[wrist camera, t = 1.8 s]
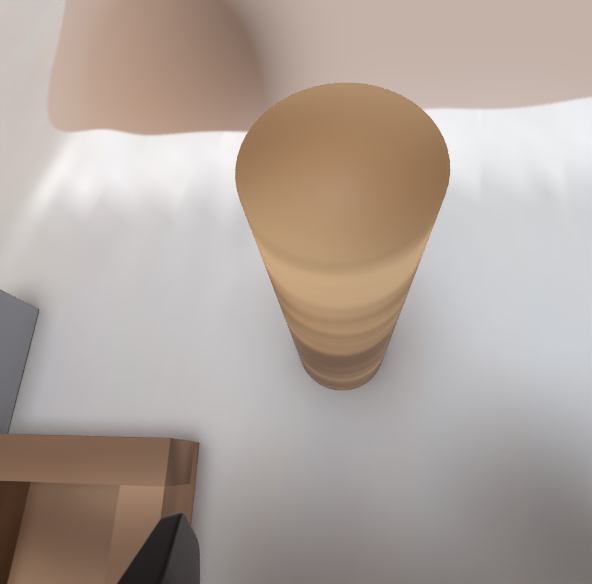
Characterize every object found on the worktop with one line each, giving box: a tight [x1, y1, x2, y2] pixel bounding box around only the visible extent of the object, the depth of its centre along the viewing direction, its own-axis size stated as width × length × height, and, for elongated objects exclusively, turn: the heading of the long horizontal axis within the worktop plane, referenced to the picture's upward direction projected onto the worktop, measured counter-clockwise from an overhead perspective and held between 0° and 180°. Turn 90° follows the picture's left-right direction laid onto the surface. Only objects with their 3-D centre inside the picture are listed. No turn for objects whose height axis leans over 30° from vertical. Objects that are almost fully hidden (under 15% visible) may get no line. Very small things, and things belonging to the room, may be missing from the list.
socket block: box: [0, 434, 199, 584], centre depth 18 cm, size 9×9×4 cm
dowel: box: [235, 83, 450, 390], centre depth 15 cm, size 4×4×14 cm
